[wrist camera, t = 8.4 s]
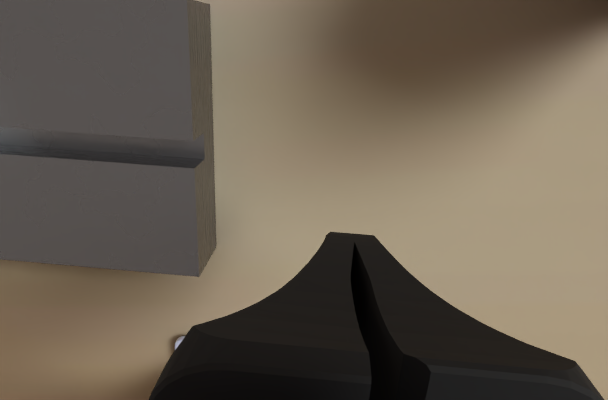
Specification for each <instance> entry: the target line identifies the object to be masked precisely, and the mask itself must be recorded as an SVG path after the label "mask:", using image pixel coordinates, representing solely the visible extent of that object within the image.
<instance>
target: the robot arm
mask: <svg viewBox="0 0 608 400" xmlns="http://www.w3.org/2000/svg"><path fill="white" fill-rule="evenodd" d="M149 400H604V399H603V398H602V396H601V395H600V393H599V392H598V391H597V389H596V388H595V387H594V385H593V384H592V383H591V381H590V380H589V379H588V377H587V376H586V374H585V373H584V372H583V370H582V369H581V368H580V367H579V365H578V364H577V363H576V362H575V361H573V360H570V359H567V358H565V357H562V356H559V355H556V354H554V353H551V352H548V351H545V350H543V349H540V348H537V347H534V346H532V345H529V344H526V343H524V342H522V341H519V340H517V339H515V338H513V337H510V336H508V335H506V334H504V333H501V332H499V331H497V330H495V329H493V328H491V327H489V326H487V325H485V324H483V323H481V322H479V321H477V320H476V319H474V318H472V317H470V316H469V315H467V314H465V313H463V312H462V311H460V310H458V309H457V308H455V307H453V306H452V305H450V304H449V303H447V302H446V301H444V300H443V299H442V298H440V297H439V296H437V295H436V294H435V293H433V292H432V291H430V290H429V289H428V288H427V287H425V286H424V285H423V284H422V283H420V282H419V281H418V280H417V279H416V278H415V277H414V276H412V275H411V274H410V273H409V272H408V271H407V270H406V269H405V268H404V267H403V266H402V265H401V264H400V263H399V262H398V261H397V260H396V259H395V258H394V257H393V256H392V255H391V254H390V253H389V252H388V251H387V250H386V248H385V247H384V246H383V245H382V244H381V243H380V242H379V241H378V239H377V238H376V237H375V236H374V235H362V234H350V233H337V232H330V233H328V234H327V235H326V238H325V240H324V242H323V243H322V245H321V247H320V248H319V250H318V251H317V252H316V254H315V255H314V256H313V257H312V259H311V260H310V261H309V262H308V264H307V265H306V266H305V267H304V268H303V269H302V270H301V271H300V272H299V273H298V274H297V275H296V276H295V277H294V278H293V279H292V280H290V281H289V282H288V283H287V284H286V285H284V286H283V287H282V288H281V289H279V290H278V291H276V292H275V293H273V294H271V295H270V296H268V297H266V298H265V299H263V300H261V301H260V302H258V303H256V304H254V305H252V306H249V307H247V308H245V309H243V310H240V311H238V312H236V313H233V314H230V315H228V316H225V317H222V318H218V319H215V320H212V321H209V322H205V323H202V324H198V325H194V326H193V327H192V328H191V329H190V331H189V332H188V333H187V335H186V336H181V337H179V338H178V339H177V340H176V342H175V351H174V353H173V354H172V356H171V357H170V359H169V360H168V362H167V364H166V366H165V368H164V369H163V371H162V373H161V375H160V377H159V379H158V381H157V383H156V385H155V387H154V389H153V391H152V393H151V396H150V398H149Z"/></svg>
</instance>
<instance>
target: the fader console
mask: <svg viewBox="0 0 608 400" xmlns="http://www.w3.org/2000/svg"><path fill="white" fill-rule="evenodd" d="M215 248H216V221H215V183H214V146H213V108H212V70H211V32H210V4H206V3H202V2H198V1H194V0H0V259H3V260H15V261H26V262H37V263H49V264H60V265H72V266H83V267H94V268H106V269H117V270H128V271H140V272H151V273H162V274H174V275H185V276H197V277H199V276H200V275H201V273H202V271H203V269H204V268H205V266H206V264H207V262H208V261H209V259H210V257H211V255H212V254H213V252H214V250H215Z"/></svg>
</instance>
